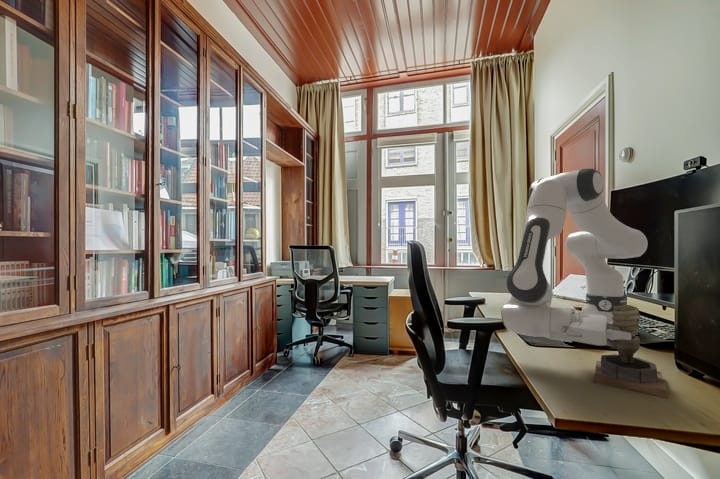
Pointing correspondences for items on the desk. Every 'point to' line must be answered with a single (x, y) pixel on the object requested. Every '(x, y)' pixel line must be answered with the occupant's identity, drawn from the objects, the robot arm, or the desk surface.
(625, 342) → the light bulb
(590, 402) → the desk surface
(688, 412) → the desk surface
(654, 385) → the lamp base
